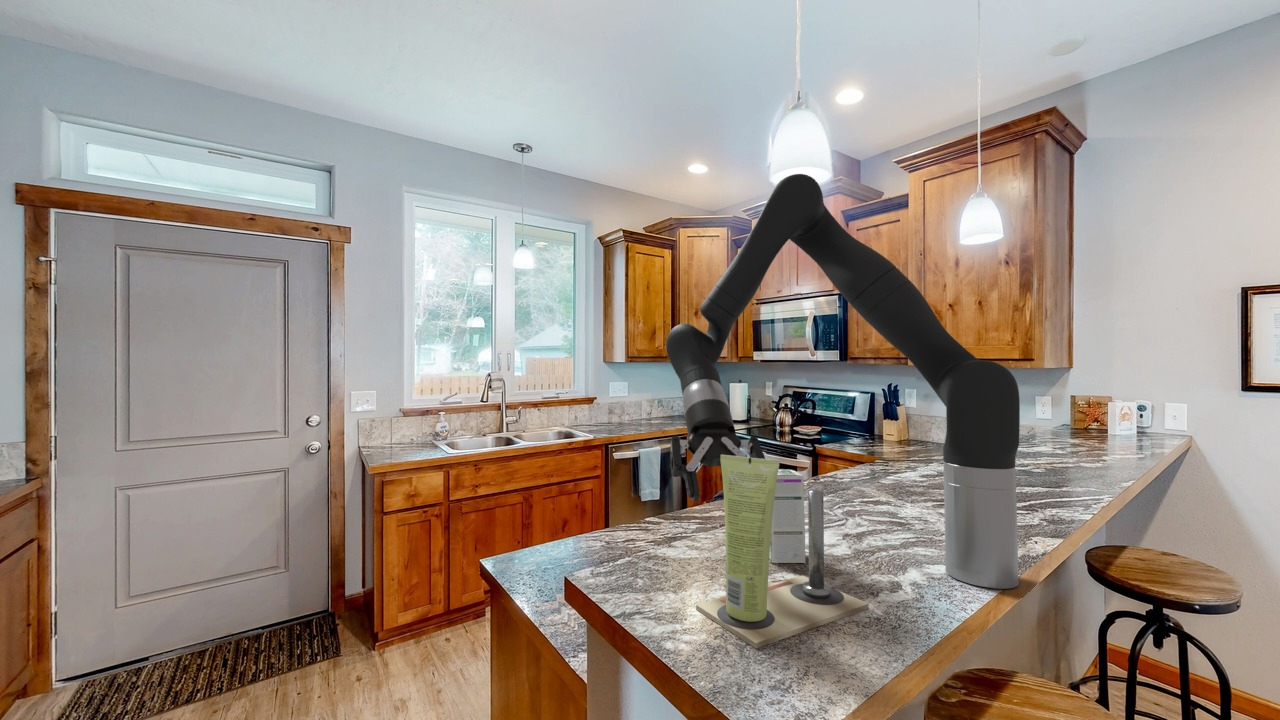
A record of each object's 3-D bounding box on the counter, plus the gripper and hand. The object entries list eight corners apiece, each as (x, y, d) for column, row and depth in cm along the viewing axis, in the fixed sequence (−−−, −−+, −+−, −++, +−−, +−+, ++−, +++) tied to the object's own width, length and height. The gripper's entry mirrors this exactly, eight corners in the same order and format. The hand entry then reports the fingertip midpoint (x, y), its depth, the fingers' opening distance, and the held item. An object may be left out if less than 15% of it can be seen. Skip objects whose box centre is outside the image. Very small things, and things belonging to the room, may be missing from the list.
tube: (758, 603, 65) (759, 453, 66) (779, 620, 60) (779, 459, 61) (718, 607, 64) (720, 454, 65) (737, 626, 59) (738, 460, 60)
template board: (802, 579, 75) (802, 575, 75) (868, 608, 65) (868, 603, 65) (696, 609, 65) (696, 604, 65) (756, 648, 55) (755, 642, 55)
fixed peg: (814, 586, 71) (814, 487, 72) (836, 595, 68) (835, 492, 68) (797, 591, 69) (796, 489, 70) (818, 601, 66) (817, 494, 67)
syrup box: (806, 564, 81) (806, 474, 82) (770, 564, 81) (769, 474, 82) (796, 552, 87) (795, 468, 88) (762, 552, 87) (762, 468, 88)
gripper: (667, 396, 80) (680, 484, 68) (753, 397, 81) (781, 483, 69) (662, 427, 85) (673, 513, 73) (743, 427, 86) (767, 511, 74)
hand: (725, 498), depth 71 cm, fingers open, 8 cm apart
